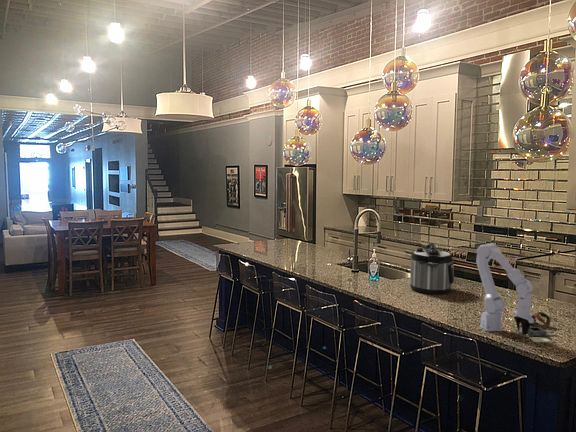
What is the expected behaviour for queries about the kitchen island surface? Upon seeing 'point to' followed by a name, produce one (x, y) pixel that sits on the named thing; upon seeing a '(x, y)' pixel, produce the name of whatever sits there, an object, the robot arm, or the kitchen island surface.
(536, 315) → the brown looped band
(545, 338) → the mat
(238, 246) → the kitchen island surface
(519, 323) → the metal cylinder
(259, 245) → the kitchen island surface
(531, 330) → the grey square with handle
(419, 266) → the pressure cooker
